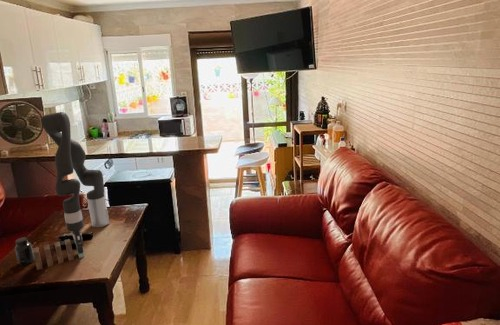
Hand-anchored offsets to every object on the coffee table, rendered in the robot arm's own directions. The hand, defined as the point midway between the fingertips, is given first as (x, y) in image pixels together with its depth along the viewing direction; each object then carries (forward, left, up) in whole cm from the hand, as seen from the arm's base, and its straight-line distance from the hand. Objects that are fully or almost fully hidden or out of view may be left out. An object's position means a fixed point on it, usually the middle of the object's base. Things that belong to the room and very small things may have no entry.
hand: (79, 249), depth 179 cm
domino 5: (0, 0, -3) cm, 3 cm away
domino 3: (+9, 0, -3) cm, 9 cm away
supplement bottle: (+23, -9, -3) cm, 25 cm away
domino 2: (+14, 0, -3) cm, 14 cm away
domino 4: (+5, 0, -3) cm, 5 cm away
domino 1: (+18, 0, -3) cm, 18 cm away
